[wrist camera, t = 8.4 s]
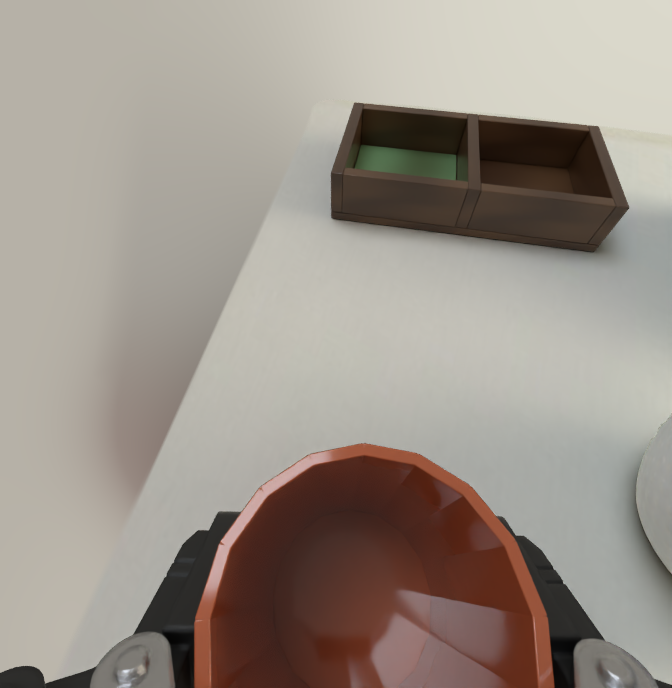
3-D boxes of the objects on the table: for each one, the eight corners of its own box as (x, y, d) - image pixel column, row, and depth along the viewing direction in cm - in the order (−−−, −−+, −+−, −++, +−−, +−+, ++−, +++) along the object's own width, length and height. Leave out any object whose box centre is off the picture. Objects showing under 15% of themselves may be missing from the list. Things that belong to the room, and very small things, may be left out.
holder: (331, 218, 27) (330, 172, 24) (352, 147, 32) (354, 102, 29) (594, 252, 25) (630, 207, 22) (572, 171, 30) (599, 125, 27)
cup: (245, 684, 13) (123, 837, 5) (291, 492, 17) (257, 422, 9) (430, 733, 12) (584, 980, 5) (438, 522, 16) (534, 475, 8)
